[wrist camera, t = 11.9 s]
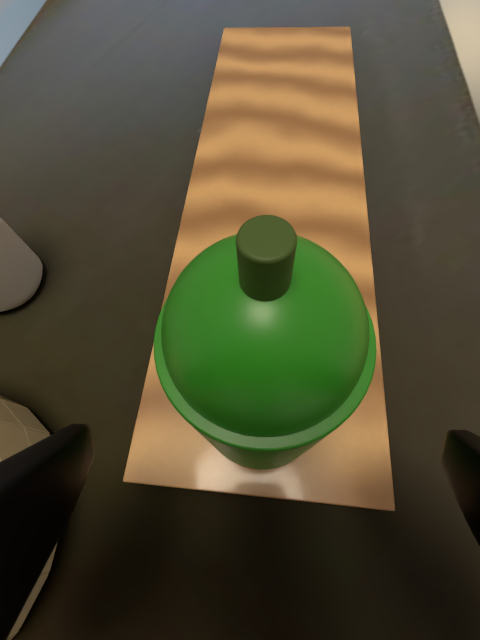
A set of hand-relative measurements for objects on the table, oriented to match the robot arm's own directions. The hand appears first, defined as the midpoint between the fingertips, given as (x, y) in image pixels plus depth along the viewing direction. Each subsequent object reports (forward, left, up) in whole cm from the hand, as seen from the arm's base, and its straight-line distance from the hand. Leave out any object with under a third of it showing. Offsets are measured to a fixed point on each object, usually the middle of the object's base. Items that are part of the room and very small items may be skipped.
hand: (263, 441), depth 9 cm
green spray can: (+2, -1, -8) cm, 8 cm away
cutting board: (+15, -11, -9) cm, 21 cm away
